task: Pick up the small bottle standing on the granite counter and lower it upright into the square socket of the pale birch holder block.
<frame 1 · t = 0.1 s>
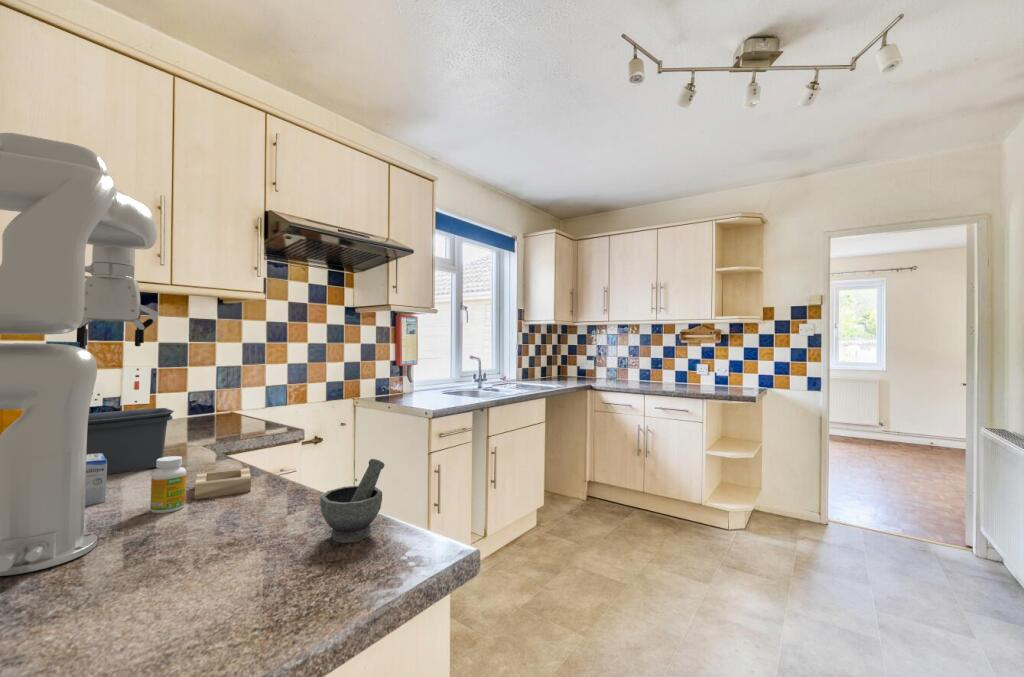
hand: (111, 346, 106), 31 cm above the countertop, tool pointing down, fingers open, 9 cm apart
medicine box: (89, 501, 92), on the countertop
holder block: (223, 488, 100), on the countertop
storage bin: (115, 470, 114), on the countertop
mortar and pestle: (354, 534, 77), on the countertop
supplement bottle: (168, 509, 87), on the countertop
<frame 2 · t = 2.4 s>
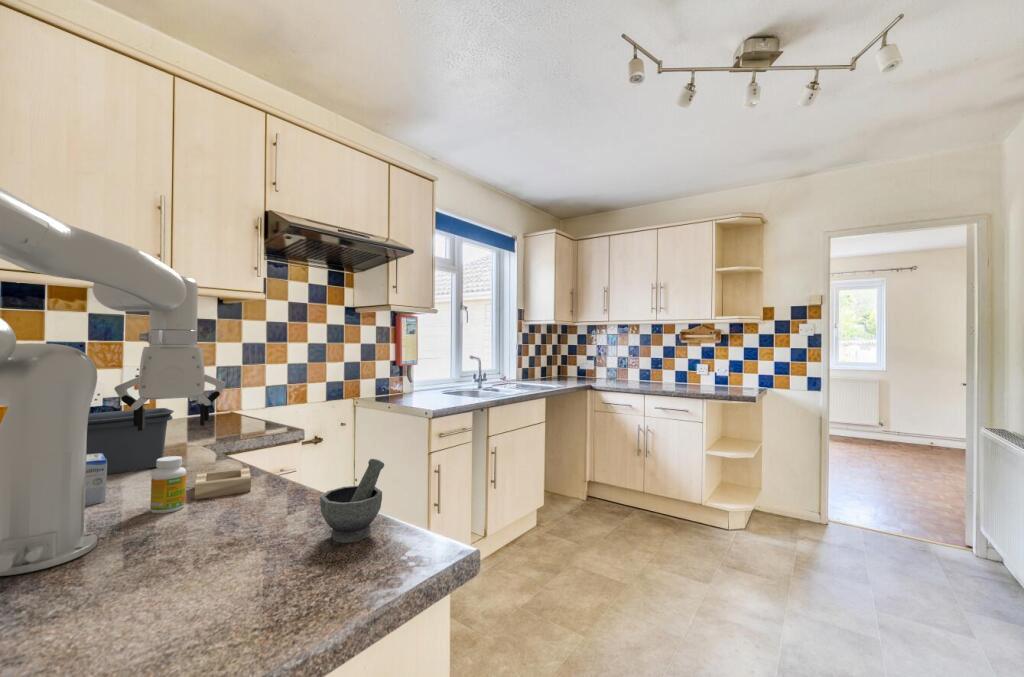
hand: (172, 427, 88), 16 cm above the countertop, tool pointing down, fingers open, 9 cm apart
nothing on the countertop moved.
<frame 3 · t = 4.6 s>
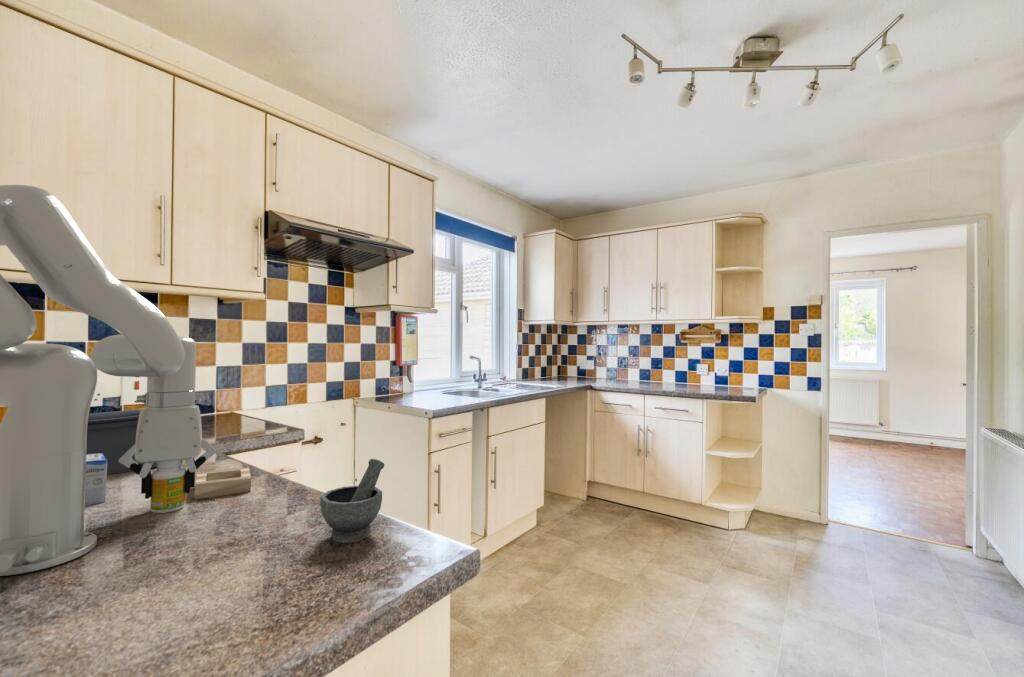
hand: (168, 493, 87), 3 cm above the countertop, tool pointing down, fingers closed on supplement bottle, 5 cm apart
supplement bottle: (168, 509, 87), on the countertop, touching gripper
everything else where it was.
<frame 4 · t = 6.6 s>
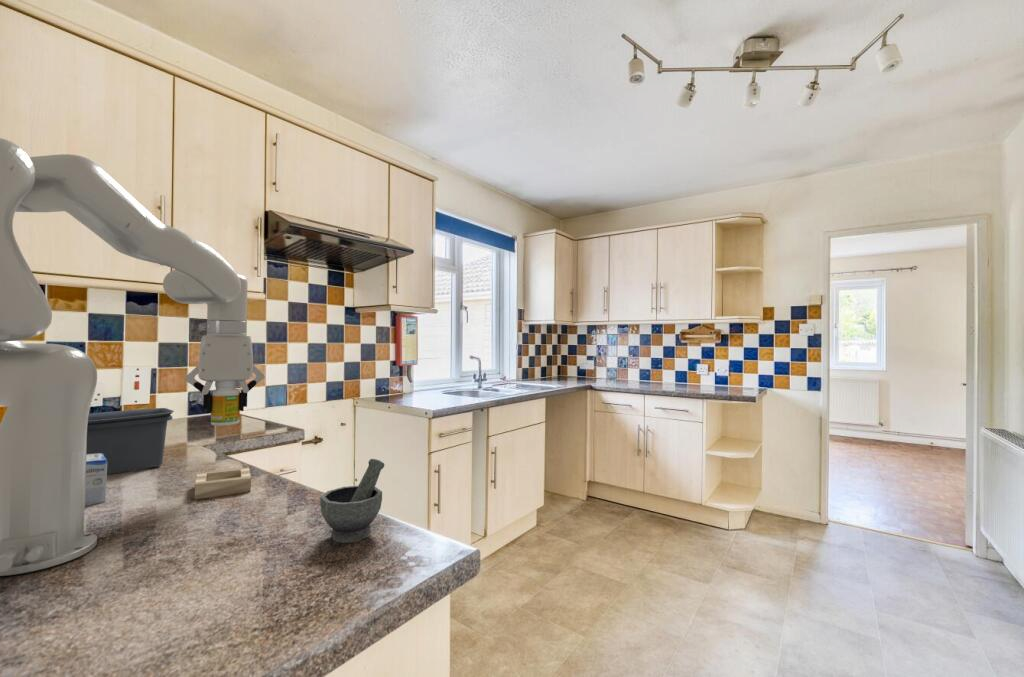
hand: (225, 410, 100), 17 cm above the countertop, tool pointing down, fingers closed on supplement bottle, 5 cm apart
supplement bottle: (225, 424, 100), point 14 cm above the countertop, touching gripper
everything else where it was.
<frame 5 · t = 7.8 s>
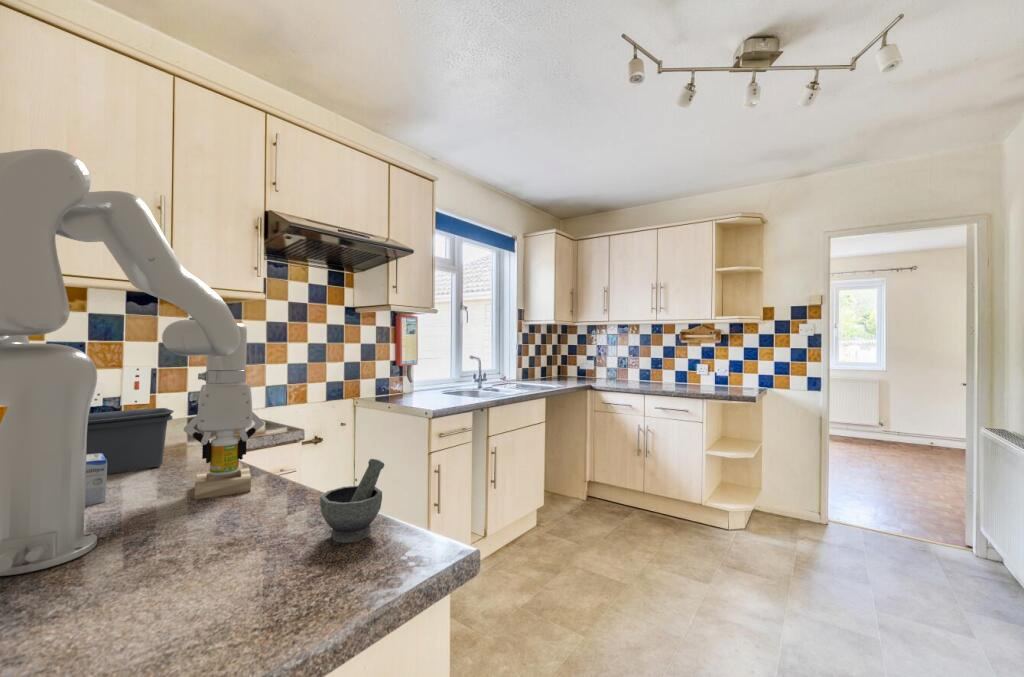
hand: (224, 459, 100), 7 cm above the countertop, tool pointing down, fingers closed on supplement bottle, 5 cm apart
supplement bottle: (224, 473, 100), point 3 cm above the countertop, touching gripper
everything else where it was.
when the fingers open (4 cm above the countertop, at t = 9.0 s): supplement bottle drops 1 cm, resting in holder block.
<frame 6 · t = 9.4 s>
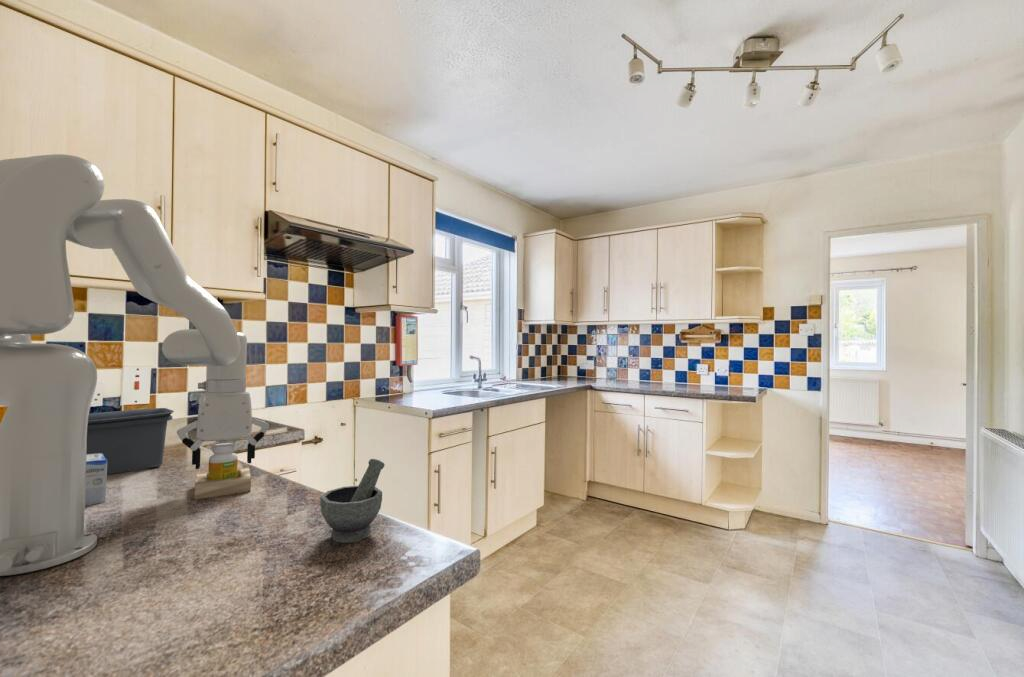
hand: (224, 464, 100), 5 cm above the countertop, tool pointing down, fingers open, 9 cm apart
supplement bottle: (222, 490, 100), resting in holder block
everything else where it was.
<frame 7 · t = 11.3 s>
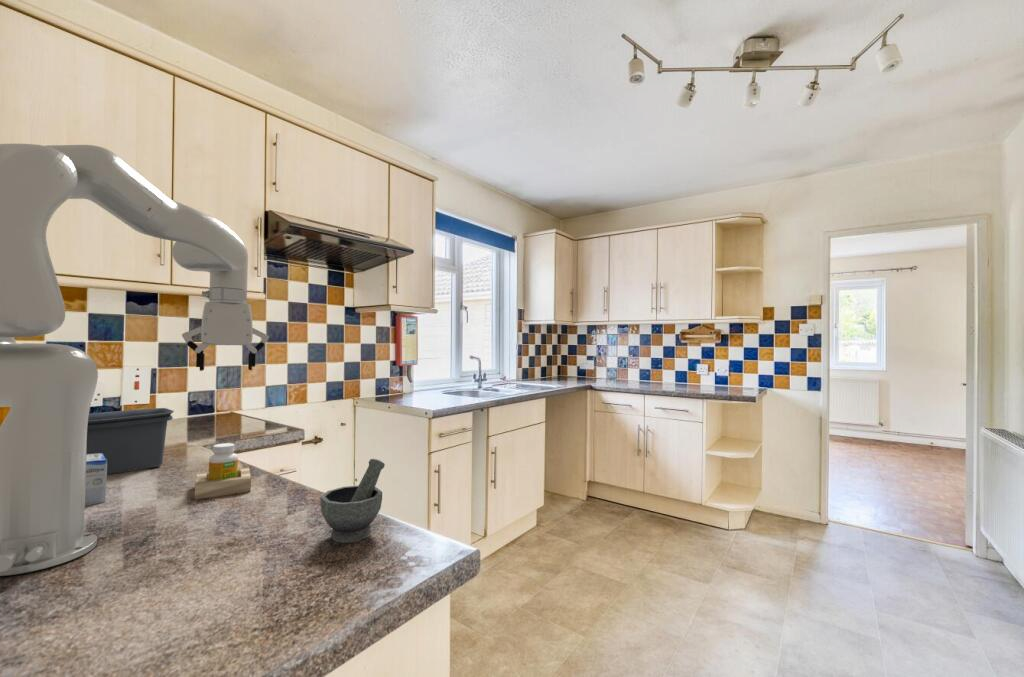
hand: (226, 370, 106), 26 cm above the countertop, tool pointing down, fingers open, 9 cm apart
nothing on the countertop moved.
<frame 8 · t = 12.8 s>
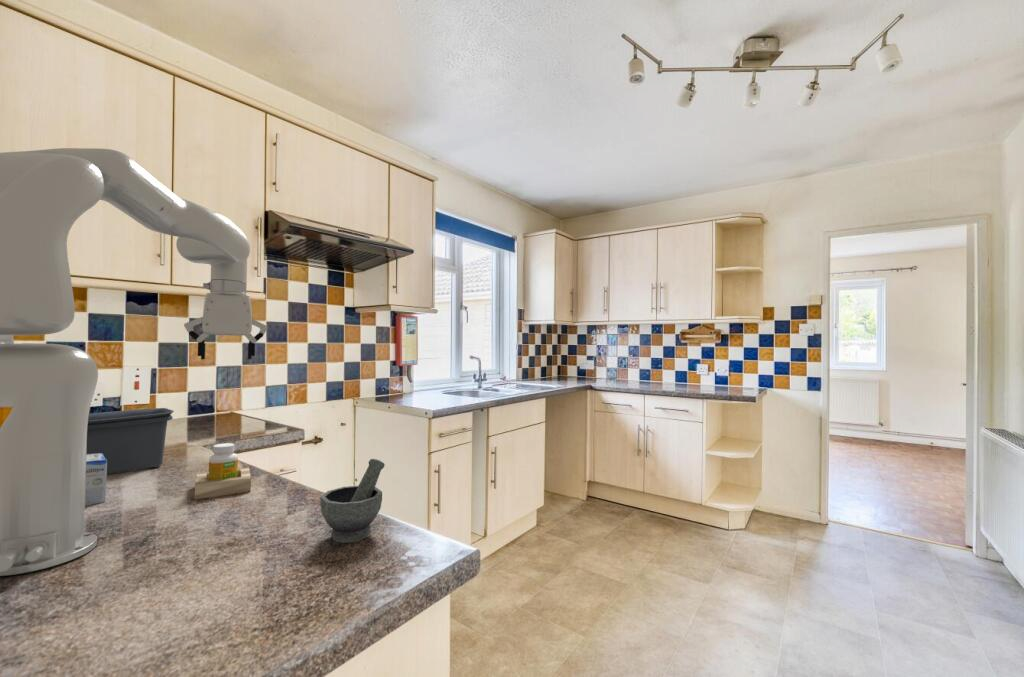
hand: (226, 359, 111), 28 cm above the countertop, tool pointing down, fingers open, 9 cm apart
nothing on the countertop moved.
at the end: supplement bottle 0.1 cm off-centre on the holder block, point 0.0 cm above the holder block's base; supplement bottle tilted 0°; the gripper is holding nothing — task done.
